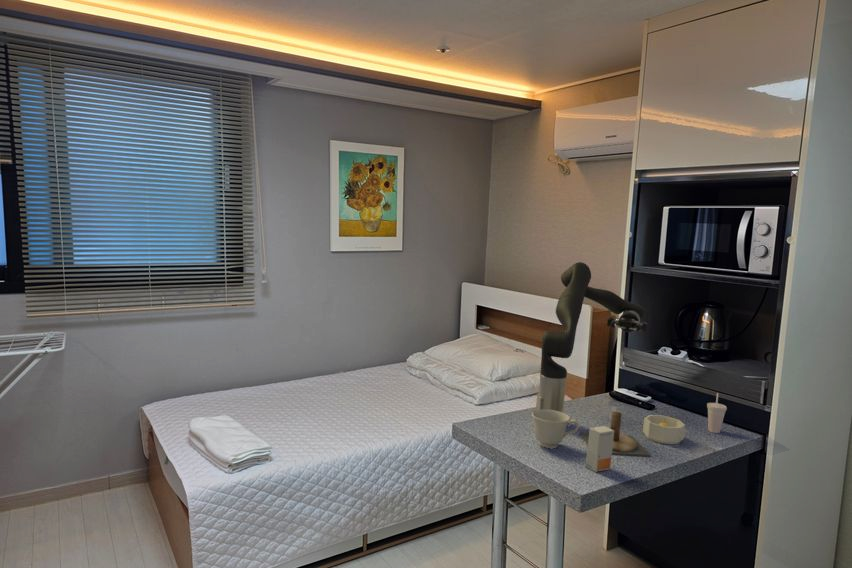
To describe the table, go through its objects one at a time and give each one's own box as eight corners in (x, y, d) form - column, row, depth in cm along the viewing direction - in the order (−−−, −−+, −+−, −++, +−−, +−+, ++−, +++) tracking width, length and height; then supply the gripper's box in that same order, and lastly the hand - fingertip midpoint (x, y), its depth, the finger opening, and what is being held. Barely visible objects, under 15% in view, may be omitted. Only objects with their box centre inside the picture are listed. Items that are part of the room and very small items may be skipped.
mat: (593, 453, 175) (593, 451, 174) (579, 434, 190) (579, 432, 190) (650, 456, 175) (650, 454, 175) (631, 437, 191) (632, 435, 190)
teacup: (574, 457, 170) (577, 426, 169) (526, 448, 175) (528, 417, 174) (578, 444, 182) (581, 414, 180) (532, 435, 187) (535, 406, 186)
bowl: (652, 444, 186) (654, 426, 185) (638, 430, 198) (640, 414, 197) (688, 446, 186) (690, 428, 185) (672, 432, 198) (674, 416, 197)
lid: (599, 450, 176) (602, 419, 175) (586, 434, 190) (589, 405, 188) (643, 453, 176) (646, 421, 175) (627, 436, 190) (630, 407, 189)
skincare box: (595, 473, 160) (599, 432, 159) (585, 466, 164) (588, 427, 163) (611, 469, 163) (615, 430, 162) (600, 463, 167) (604, 425, 166)
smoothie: (719, 428, 205) (723, 391, 203) (727, 435, 198) (731, 397, 197) (701, 427, 205) (705, 390, 204) (708, 433, 199) (712, 395, 197)
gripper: (611, 309, 223) (606, 314, 209) (649, 313, 217) (646, 319, 203) (609, 328, 224) (604, 334, 209) (647, 332, 218) (644, 339, 203)
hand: (625, 326), depth 206 cm, fingers open, 8 cm apart
